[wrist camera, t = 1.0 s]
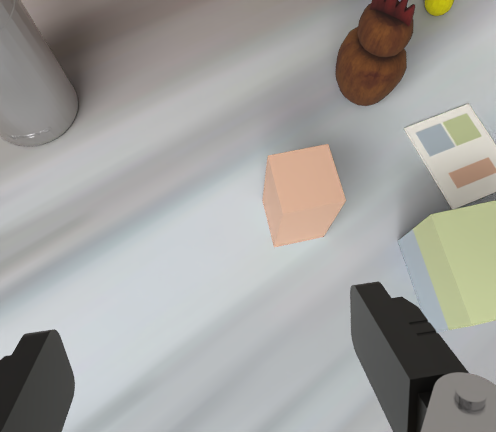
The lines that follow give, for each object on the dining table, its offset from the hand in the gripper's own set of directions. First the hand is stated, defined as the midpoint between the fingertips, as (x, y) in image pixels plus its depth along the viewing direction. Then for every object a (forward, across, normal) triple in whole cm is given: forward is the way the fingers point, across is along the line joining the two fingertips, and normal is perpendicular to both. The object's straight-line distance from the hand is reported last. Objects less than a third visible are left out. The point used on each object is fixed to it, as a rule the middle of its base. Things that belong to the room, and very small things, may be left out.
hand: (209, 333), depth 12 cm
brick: (+30, -7, +11) cm, 33 cm away
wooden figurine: (+39, -17, +1) cm, 43 cm away
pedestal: (+24, -22, +17) cm, 37 cm away
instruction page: (+33, -26, +8) cm, 43 cm away
